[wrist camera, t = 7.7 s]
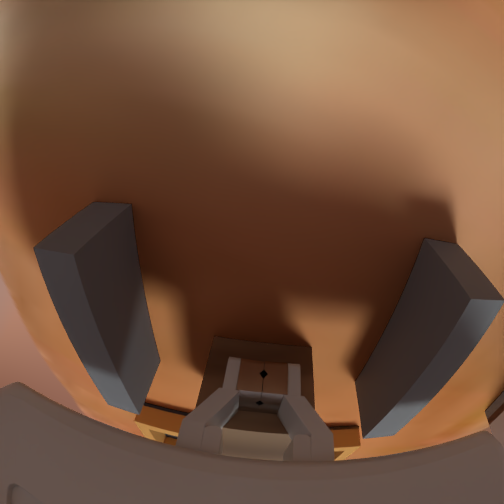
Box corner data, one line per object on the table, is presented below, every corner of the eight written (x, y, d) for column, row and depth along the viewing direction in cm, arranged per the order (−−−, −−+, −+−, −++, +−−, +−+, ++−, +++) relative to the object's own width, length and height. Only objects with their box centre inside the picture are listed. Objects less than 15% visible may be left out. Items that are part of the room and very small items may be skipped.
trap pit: (141, 401, 19) (134, 420, 17) (358, 425, 18) (360, 446, 17) (159, 435, 23) (154, 450, 22) (330, 454, 22) (330, 470, 21)
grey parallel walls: (93, 202, 10) (33, 247, 7) (457, 244, 10) (504, 300, 6) (131, 354, 16) (108, 404, 12) (382, 381, 15) (393, 435, 11)
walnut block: (214, 336, 14) (191, 421, 9) (311, 347, 14) (315, 434, 9) (215, 386, 16) (200, 454, 12) (293, 394, 16) (291, 464, 12)
